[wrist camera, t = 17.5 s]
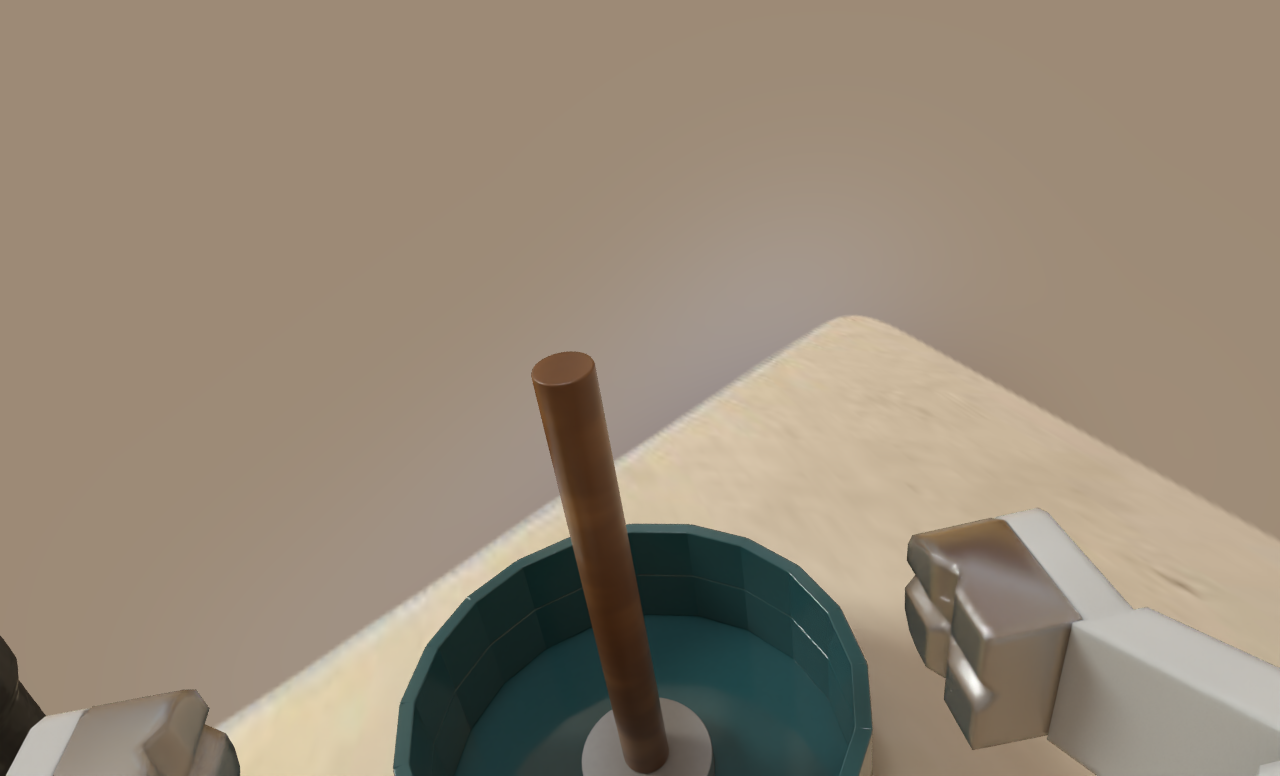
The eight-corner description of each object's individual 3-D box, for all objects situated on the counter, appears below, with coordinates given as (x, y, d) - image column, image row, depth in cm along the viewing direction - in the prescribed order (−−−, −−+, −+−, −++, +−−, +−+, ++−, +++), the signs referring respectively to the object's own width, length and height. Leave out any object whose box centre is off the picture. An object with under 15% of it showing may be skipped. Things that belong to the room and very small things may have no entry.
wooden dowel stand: (593, 848, 32) (468, 438, 21) (580, 729, 36) (471, 340, 26) (728, 817, 32) (670, 398, 22) (699, 702, 36) (639, 308, 26)
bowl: (426, 1087, 27) (367, 1003, 23) (447, 657, 41) (413, 568, 38) (949, 959, 28) (962, 862, 24) (790, 583, 42) (785, 490, 39)
